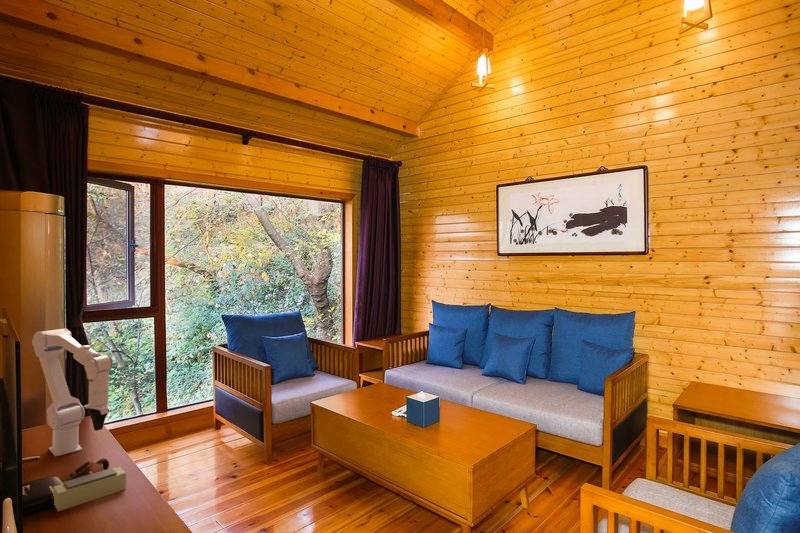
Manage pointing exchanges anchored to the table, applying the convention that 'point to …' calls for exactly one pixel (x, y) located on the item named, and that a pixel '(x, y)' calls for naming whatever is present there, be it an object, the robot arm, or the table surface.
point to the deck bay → (88, 488)
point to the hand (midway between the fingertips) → (98, 429)
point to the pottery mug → (89, 468)
